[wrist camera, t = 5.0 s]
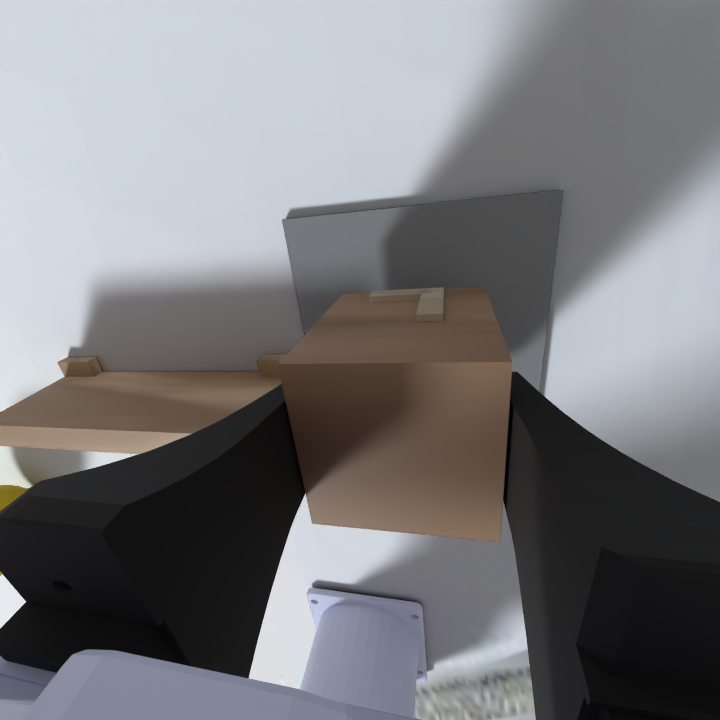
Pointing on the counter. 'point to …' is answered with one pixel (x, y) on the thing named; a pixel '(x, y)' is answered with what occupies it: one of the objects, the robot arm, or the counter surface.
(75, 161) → the counter surface
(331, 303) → the mat
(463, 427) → the letter block
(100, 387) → the screen
